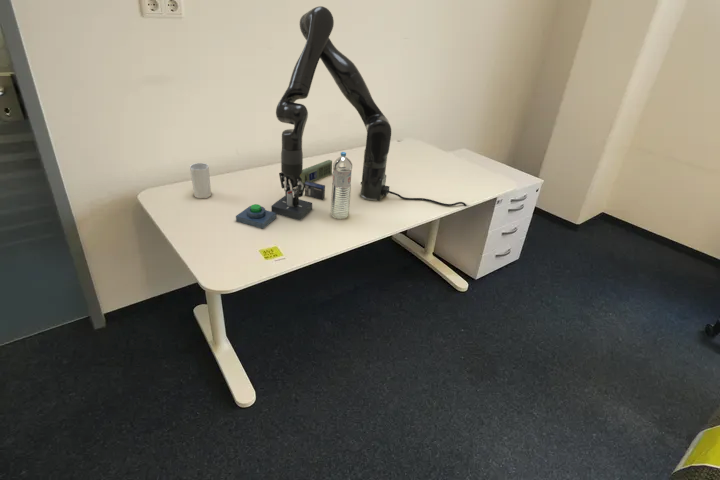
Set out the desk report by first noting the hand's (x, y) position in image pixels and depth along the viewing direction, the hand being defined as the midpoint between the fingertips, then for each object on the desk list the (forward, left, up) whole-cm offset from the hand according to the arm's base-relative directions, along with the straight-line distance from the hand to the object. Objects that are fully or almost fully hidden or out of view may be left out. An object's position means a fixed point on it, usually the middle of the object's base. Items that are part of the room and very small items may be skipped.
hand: (291, 202), depth 160 cm
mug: (+38, +5, -4) cm, 38 cm away
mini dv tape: (-2, -15, -4) cm, 16 cm away
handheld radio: (+6, -28, -4) cm, 29 cm away
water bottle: (-17, -6, -4) cm, 19 cm away
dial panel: (0, 0, -4) cm, 4 cm away
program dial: (0, 0, -1) cm, 1 cm away
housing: (+8, +12, -4) cm, 15 cm away
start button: (+8, +12, 0) cm, 14 cm away
